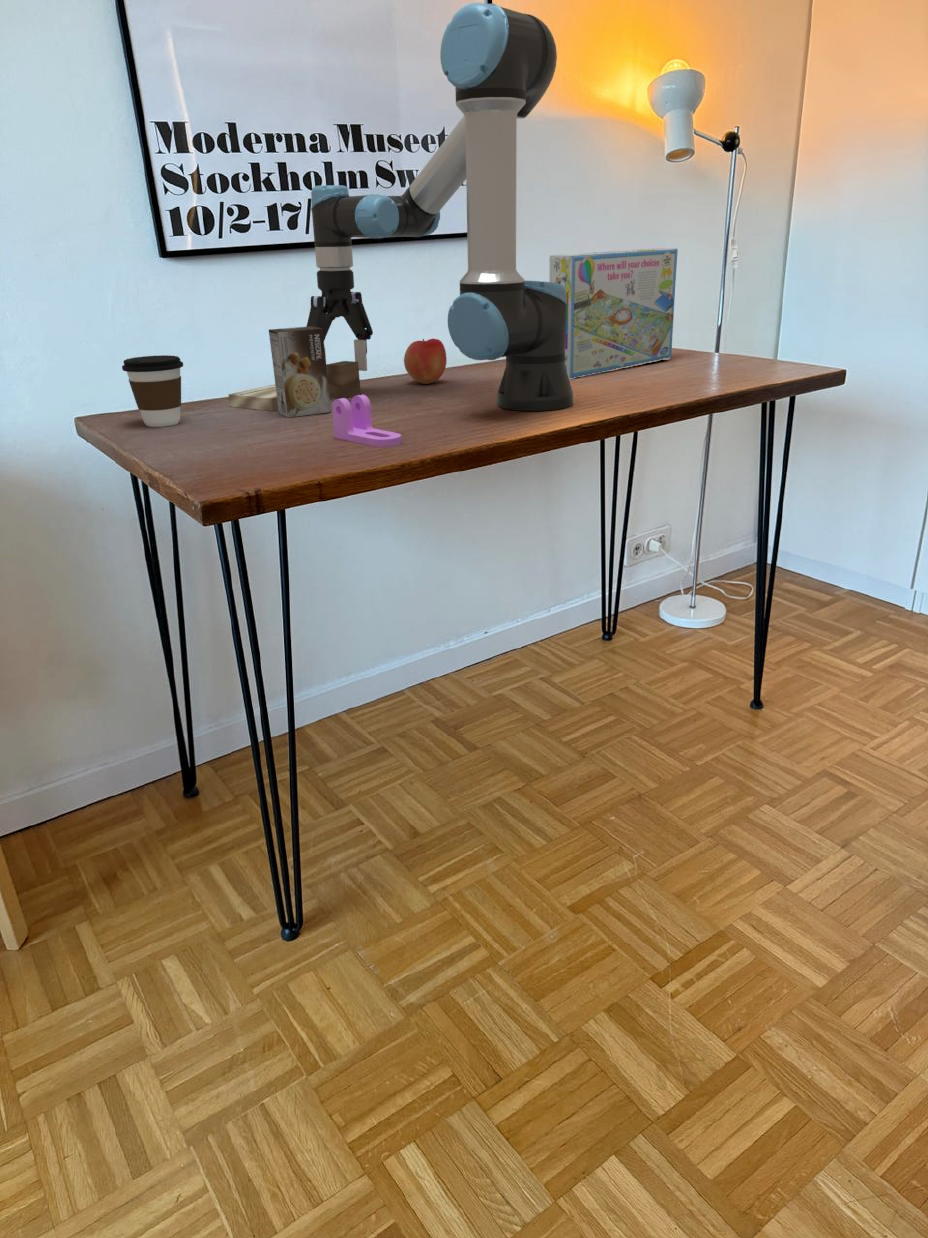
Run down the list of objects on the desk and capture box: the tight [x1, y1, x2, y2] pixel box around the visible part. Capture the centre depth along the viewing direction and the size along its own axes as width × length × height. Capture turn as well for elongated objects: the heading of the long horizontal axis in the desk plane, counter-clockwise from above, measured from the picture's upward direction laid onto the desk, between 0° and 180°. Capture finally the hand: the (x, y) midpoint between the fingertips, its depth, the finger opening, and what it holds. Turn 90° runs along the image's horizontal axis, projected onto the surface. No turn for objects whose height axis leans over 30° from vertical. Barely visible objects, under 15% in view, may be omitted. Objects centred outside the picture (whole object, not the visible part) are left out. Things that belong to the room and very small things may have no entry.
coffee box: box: [268, 326, 332, 419], centre depth 168 cm, size 9×6×16 cm
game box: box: [549, 247, 679, 378], centre depth 210 cm, size 40×7×27 cm, turn 132°
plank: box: [228, 383, 279, 412], centre depth 187 cm, size 12×26×3 cm, turn 148°
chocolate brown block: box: [326, 360, 362, 400], centre depth 190 cm, size 14×6×7 cm, turn 58°
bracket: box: [331, 394, 402, 448], centre depth 146 cm, size 13×6×7 cm, turn 45°
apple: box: [403, 338, 447, 385], centre depth 200 cm, size 10×10×10 cm
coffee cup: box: [121, 354, 184, 428], centre depth 163 cm, size 11×11×12 cm
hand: (342, 374), depth 187 cm, fingers open, 13 cm apart
